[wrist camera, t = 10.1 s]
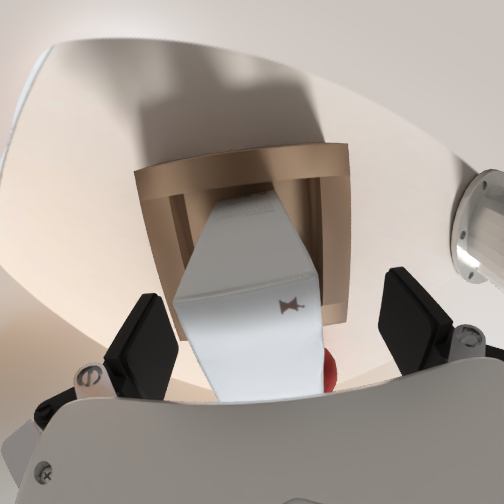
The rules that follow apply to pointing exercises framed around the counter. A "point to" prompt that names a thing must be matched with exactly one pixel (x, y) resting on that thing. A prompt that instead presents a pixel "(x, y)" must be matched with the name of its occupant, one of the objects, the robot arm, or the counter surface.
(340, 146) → the wooden tray
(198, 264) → the skincare box
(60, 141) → the counter surface
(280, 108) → the counter surface
